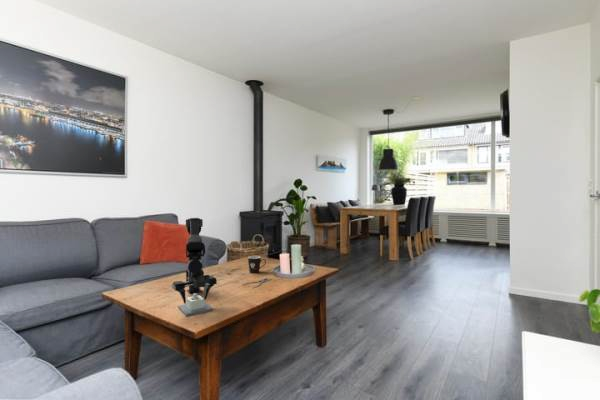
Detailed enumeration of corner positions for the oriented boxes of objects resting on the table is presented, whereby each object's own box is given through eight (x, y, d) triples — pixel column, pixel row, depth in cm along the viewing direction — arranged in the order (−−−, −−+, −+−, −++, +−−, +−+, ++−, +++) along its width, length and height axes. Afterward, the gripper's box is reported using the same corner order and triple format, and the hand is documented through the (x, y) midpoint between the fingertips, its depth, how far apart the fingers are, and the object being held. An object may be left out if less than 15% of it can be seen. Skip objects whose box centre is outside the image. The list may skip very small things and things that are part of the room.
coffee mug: (245, 272, 211) (245, 257, 211) (254, 269, 218) (254, 255, 218) (258, 275, 204) (258, 259, 204) (266, 272, 211) (266, 257, 211)
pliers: (239, 285, 180) (258, 276, 199) (239, 287, 180) (258, 278, 199) (254, 287, 177) (271, 278, 195) (254, 289, 177) (271, 280, 195)
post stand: (178, 308, 147) (177, 293, 146) (203, 302, 154) (203, 288, 153) (185, 316, 137) (185, 300, 137) (212, 310, 144) (212, 295, 144)
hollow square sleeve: (186, 306, 146) (186, 297, 146) (199, 303, 149) (199, 295, 149) (190, 310, 141) (190, 301, 141) (204, 307, 145) (203, 298, 144)
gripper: (178, 274, 133) (179, 311, 133) (221, 268, 144) (221, 302, 144) (171, 269, 142) (172, 303, 142) (212, 263, 153) (212, 295, 153)
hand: (195, 301), depth 145 cm, fingers open, 9 cm apart
